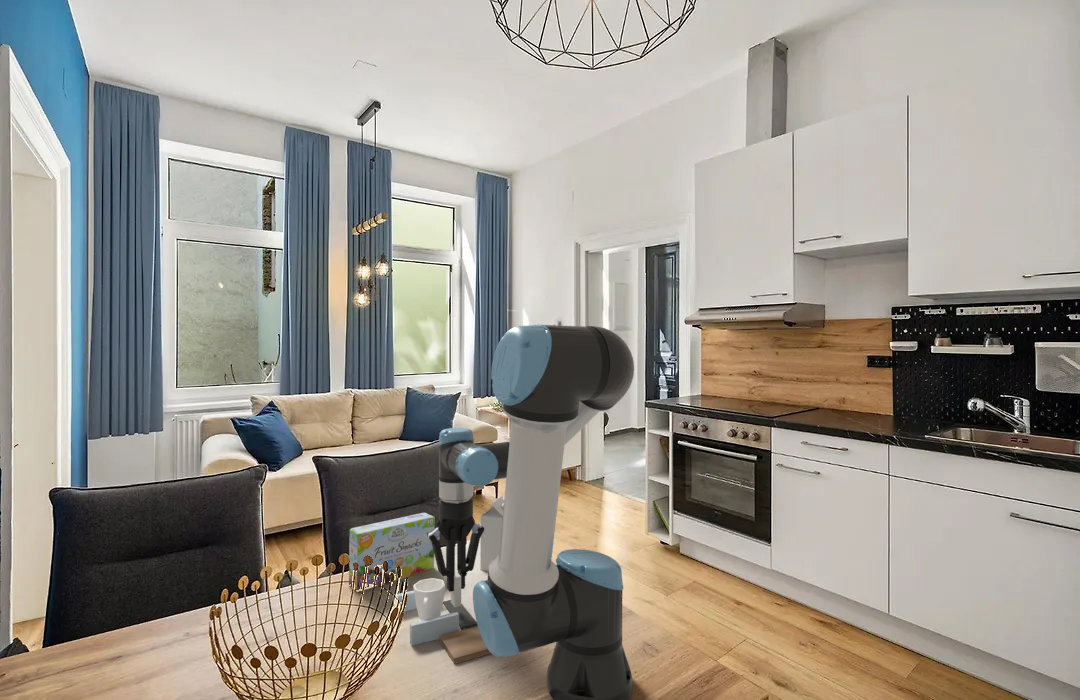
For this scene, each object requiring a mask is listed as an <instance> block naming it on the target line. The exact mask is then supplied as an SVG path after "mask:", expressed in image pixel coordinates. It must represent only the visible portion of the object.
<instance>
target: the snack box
mask: <svg viewBox="0 0 1080 700" xmlns="http://www.w3.org/2000/svg"><path fill="white" fill-rule="evenodd" d="M435 519H436V518H435V516H433V515H431V514H429V513H427V512H421V513H415V514H410V515H407V516H402V517H398V518H397V517H396V518H393V519H388V520H384V521H379V522H375V523H370V524H366V525H361V526H356V527H351V528H350V529H349V540H348V541H349V544H348V545H349V549H348V550H349V551H348V553H349V555H348V559H349V558H350V562H349V561H348V562H349V563H348V564H349V568H348V586H349V585H350V584H351V587H352V576H353V569H354V566H353V563H355V562H357V563H359V566H358V570H357V572H356V576H355V591H356V590H359V589H360V587H361V589H362V583H363V580H364V574H365V563H364V561H363V559H364V557H365V556H367V555H368V556H370V557H372V559H373V563H372V564H371V565H369V567H368V573H367V585H368V586H367V587H369V584H371V583H373V582H374V576H375V570H374V567H375V566H377V565H382V564H383V562H384V561H388V572H386V573H385V583H384V585H387V584H390V583H389V581H390V575H389V573H390V572H393V573H394V574H396V575H395V576H396V581H398V580H397V572H396V568H397V567H398V566H400V567H401V569H402V576H401V579H400V580H402V579H405V578H408V577H412V576H415V575H418V574H421V573H425V572H427V571H430V570H434V568H435V555H434V551H433V547H432V543H431V541H430V539H429V538H428V537H427V533H428V532H432V531H433V530H435V529H436V528H435V524H436V522H435ZM382 569H383V567H382V566H381V568H380V573H379V574H378V577H377V580H376V585H379V586H378V587H381V586H382V585H381V582H382ZM380 585H381V586H380ZM351 587H350V588H351ZM365 588H366V587H365ZM375 588H377V586H376V587H375ZM355 591H354V592H355Z"/></svg>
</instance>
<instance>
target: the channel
mask: <svg viewBox="0 0 1080 700" xmlns="http://www.w3.org/2000/svg"><path fill="white" fill-rule="evenodd" d="M406 592H407V596H408V597H407V603H406V607H405V611H404V612H403V613H405V612H408V611H412V610H417V607H416V600H415V593H414V590H410V591H406ZM403 593H404V592H401V593H396V594H397V597H398V600H399V602H402V594H403ZM394 595H395V594H393V595H392V596H393V599H392V600H393V601H392V602H393V603H392V605H393V604H394ZM457 631H460V627H459V614H458V612H455V613H447V614H444V615H440V616H438V617H434V618H430V619H426V620H422V621H419V620H417V621H414V622H411V623H409V645H410V646H411V647H414V646H416V645H417V646H418V645H420V644H425V643H429V642H432V641H436V640H439V636H441V635H445V634H449V633H453V632H457Z"/></svg>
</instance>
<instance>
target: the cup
mask: <svg viewBox="0 0 1080 700" xmlns="http://www.w3.org/2000/svg"><path fill="white" fill-rule="evenodd" d="M412 588H413V591H414V593H415V600H416V607H417V609H416V610H417V614H418V617H419V620H418V621H422V620H426V619H430V618H434V617H438V616H442V615H441V614H442V611H443V606H444V604H443V601H445V600H444V599H445V593H446V588H447V583H445V581H444V580H443V579H440V578H434V577H433V578H432V577H431V578H425V579H420V580H418V581H417V582H416V583H414V584H413V587H412Z"/></svg>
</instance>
